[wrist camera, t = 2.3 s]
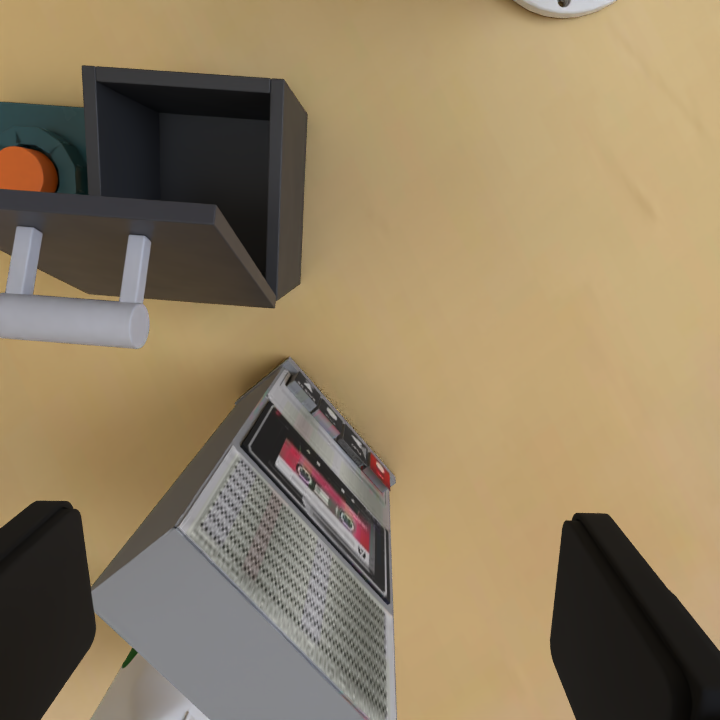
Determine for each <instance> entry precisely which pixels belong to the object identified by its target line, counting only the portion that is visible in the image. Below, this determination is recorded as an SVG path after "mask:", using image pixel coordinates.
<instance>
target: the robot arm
mask: <svg viewBox="0 0 720 720" xmlns="http://www.w3.org/2000/svg"><path fill="white" fill-rule="evenodd" d="M513 1H514V2H516V3H518V4H519V5H521V6H523V7H524V8H526V9H527V10H529V11H532V12H535V13H537V14H540V15H543V16H547V17H555V18H571V17H581V16H584V15H587V14H590V13H594V12H597V11H599V10H601V9H603V8H605V7H607V6H609V5H610V4H612V3H614V2H615V1H617V0H513ZM559 1H561V2H562V3H563V7H561V6H559V4H558V2H559ZM95 632H96V622H95V615H94V608H93V600H92V593H91V586H90V578H89V571H88V564H87V556H86V549H85V542H84V534H83V527H82V520H81V515H80V512H79V511H78V510H77V509H73V507H72V505H71V503H69V502H67V501H35V502H33V503H32V504H30V505H29V506H28V507H27V508H25V509H24V510H23V511H22V512H20V513H19V514H18V515H17V516H15V517H14V518H13V519H12V520H10V521H9V522H8V523H7V524H5V525H4V526H3V527H2V528H0V720H41V718H42V717H43V715H44V714H45V712H46V711H47V709H48V708H49V707H50V705H51V704H52V702H53V701H54V699H55V698H56V696H57V695H58V693H59V692H60V691H61V689H62V688H63V686H64V685H65V683H66V682H67V680H68V679H69V677H70V676H71V675H72V673H73V672H74V670H75V669H76V667H77V666H78V664H79V663H80V661H81V660H82V659H83V657H84V656H85V654H86V653H87V651H88V650H89V648H90V647H91V645H92V643H93V640H94V637H95ZM550 649H551V655H552V659H553V662H554V665H555V668H556V670H557V673H558V675H559V678H560V680H561V683H562V685H563V688H564V690H565V693H566V695H567V698H568V700H569V703H570V705H571V708H572V710H573V713H574V715H575V718H576V720H720V651H719V650H718V649H717V647H716V646H715V645H714V644H713V642H712V641H711V640H710V639H709V637H708V636H707V635H706V634H705V632H704V631H703V630H702V629H701V627H700V626H699V625H698V624H697V622H696V621H695V620H694V619H693V617H692V616H691V615H690V614H689V612H688V611H687V610H686V609H685V607H684V606H683V605H682V604H681V602H680V601H679V600H678V599H677V597H676V596H675V595H674V594H673V593H672V592H671V591H670V590H668V588H667V587H666V586H665V585H664V583H663V582H662V581H661V580H660V578H659V577H658V576H657V575H656V573H655V572H654V571H653V570H652V568H651V567H650V566H649V564H648V563H647V562H646V561H645V559H644V558H643V557H642V556H641V554H640V553H639V552H638V551H637V549H636V548H635V547H634V546H633V544H632V543H631V542H630V541H629V539H628V538H627V537H626V536H625V534H624V533H623V532H622V530H621V529H620V528H619V527H618V525H617V524H616V523H615V522H614V520H613V519H612V518H611V517H610V516H609V515H608V514H601V513H576V514H574V516H573V518H572V521H567V520H566V521H565V522H564V524H563V528H562V536H561V545H560V554H559V563H558V572H557V582H556V591H555V600H554V609H553V618H552V627H551V636H550Z"/></svg>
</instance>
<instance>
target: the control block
mask: <svg viewBox="0 0 720 720" xmlns="http://www.w3.org/2000/svg"><path fill="white" fill-rule="evenodd" d="M10 146H18V147H23V148H28V149H32V150H36V151H39V152H41V153H43V154H44V155H46V156H47V157H48V158H49V159H50V160H51V161H52V163H53V164H54V166H55V168H56V171H57V175H58V185H57V189H56V191H55V193H65V194H78V195H89V194H88V175H87V156H86V138H85V119H84V108H83V107H69V106H55V105H40V104H26V103H12V102H0V151H1V150H2V149H4V148H6V147H10Z"/></svg>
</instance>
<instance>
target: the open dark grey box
mask: <svg viewBox="0 0 720 720" xmlns="http://www.w3.org/2000/svg"><path fill="white" fill-rule="evenodd" d="M82 82H83V100H84V119H85V138H86V156H87V175H88V194H89V195H92V196H105V197H119V198H133V199H146V200H160V201H173V202H187V203H201V204H214V205H217V207H218V208H219V210H220V211H221V213H222V214H223V216H224V217H225V219H226V220H227V222H228V224H229V225H230V227H231V228H232V230H233V231H234V233H235V234H236V236H237V237H238V239H239V240H240V242H241V243H242V245H243V246H244V248H245V250H246V251H247V253H248V254H249V256H250V257H251V259H252V260H253V262H254V263H255V265H256V266H257V268H258V269H259V271H260V272H261V274H262V275H263V277H264V279H265V280H266V282H267V283H268V285H269V286H270V288H271V289H272V291H273V292H274V294H275V295H276V301H277V300H279V299H280V298H281V297H283V296H284V295H285V294H287V293H288V292H290V291H291V290H292V289H294V288H295V287H296V286H298V285H299V284H300V276H301V253H302V230H303V207H304V184H305V161H306V137H307V113H306V111H305V110H304V108H303V107H302V105H301V104H300V102H299V101H298V99H297V98H296V96H295V95H294V94H293V92H292V91H291V89H290V88H289V86H288V85H287V83H286V82H285V80H284V79H270V78H259V77H244V76H230V75H215V74H200V73H186V72H171V71H157V70H142V69H128V68H113V67H99V66H97V67H95V66H85V65H83V66H82Z"/></svg>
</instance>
